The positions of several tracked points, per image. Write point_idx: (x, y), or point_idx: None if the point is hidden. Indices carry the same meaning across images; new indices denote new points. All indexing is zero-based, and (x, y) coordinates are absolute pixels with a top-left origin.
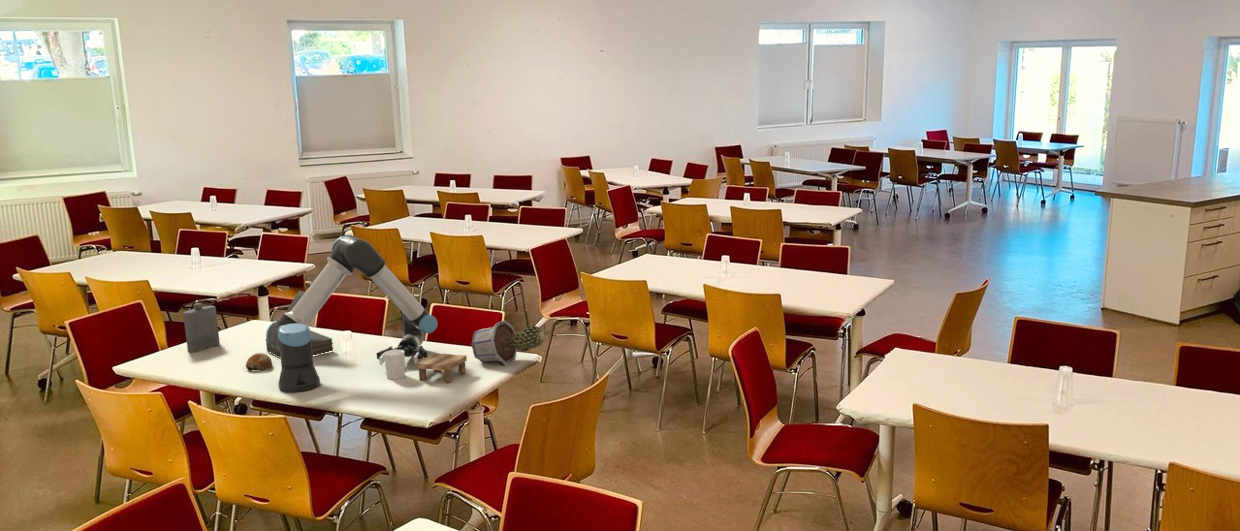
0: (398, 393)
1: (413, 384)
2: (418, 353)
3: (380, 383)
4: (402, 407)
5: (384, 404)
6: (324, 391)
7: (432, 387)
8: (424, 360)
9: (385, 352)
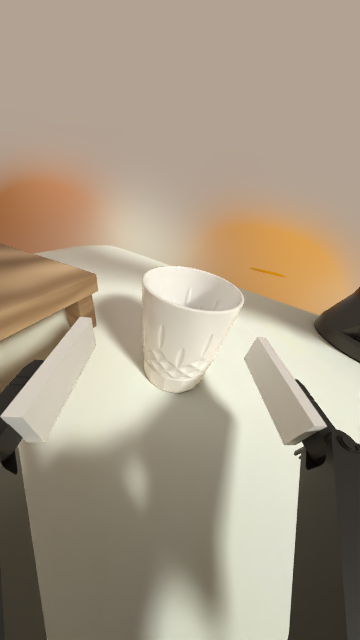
0: None
1: (117, 307)
2: (25, 388)
3: None
4: (137, 259)
5: None
6: (282, 315)
7: None
8: (53, 283)
9: (239, 297)
